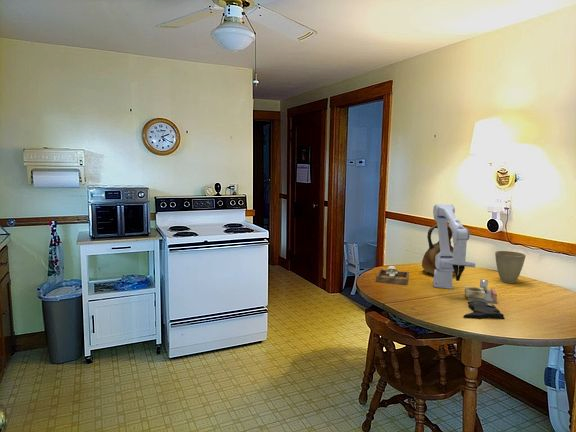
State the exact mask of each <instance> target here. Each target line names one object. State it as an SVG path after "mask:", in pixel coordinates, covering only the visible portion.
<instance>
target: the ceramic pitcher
mask: <svg viewBox="0 0 576 432" xmlns="http://www.w3.org/2000/svg"><path fill="white" fill-rule="evenodd" d="M436 228H438V226H437V224H434V225H432V226H431V227H429V229H428V232H427V236H426V238H427V242H428V249H427V250H426V251H425V253H424V254H423V257H422V260H421V267H422V269H423V270H424V271H425V272H427V273H429V274H432V275H434V269H437V268H436V266H435V257H436V255H437V254H438V253H439V252H440V244H439V240H438V241H437V242H436V243H434V244H433V242H432V233H433V231H434V229H436ZM447 229H448V238H449V246H450V252H452V253H453V248H454V246H452V240H451V239H453V237H452V231H451V229H450V227H449V224H447ZM454 274H455V271H453V275H454Z"/></svg>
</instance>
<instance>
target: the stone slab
mask: <svg viewBox="0 0 576 432" xmlns="http://www.w3.org/2000/svg"><path fill="white" fill-rule="evenodd" d="M467 304H468V306H467V308H469V309H470V310H471V311H472V312H470V313H466V314H464V315H463V318H465V319H471V320H472V319H473V320H474V319H475V320H482V319H496V320H505V316H504V313H501V311H500V310H499V309H498V308H497V306H496V305H494V304H493V303H487V302H482V301H468V302H467Z"/></svg>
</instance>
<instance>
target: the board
mask: <svg viewBox="0 0 576 432" xmlns="http://www.w3.org/2000/svg"><path fill="white" fill-rule="evenodd" d="M497 298H498V293H497V291H496V289H495V288H493V287H490V290H489V289H487V293H485V299H480V298H472V297H467V300H468V302H471V301H482V302H485V303H488V304H497Z"/></svg>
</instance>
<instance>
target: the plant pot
mask: <svg viewBox="0 0 576 432" xmlns="http://www.w3.org/2000/svg"><path fill="white" fill-rule="evenodd" d="M494 255H495V263H496V268H497V273H498V277H499V280H500V281H501V282H503V283H507V284H516V282H517V281H518V279H519V276H520V275H521V271H522V270H523V266H524V263H525V261H526V256H527V255H526V254H525V253H522V252H518V251H512V250H511V251H510V250H509V251H508V250H497V251H495V252H494Z"/></svg>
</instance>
